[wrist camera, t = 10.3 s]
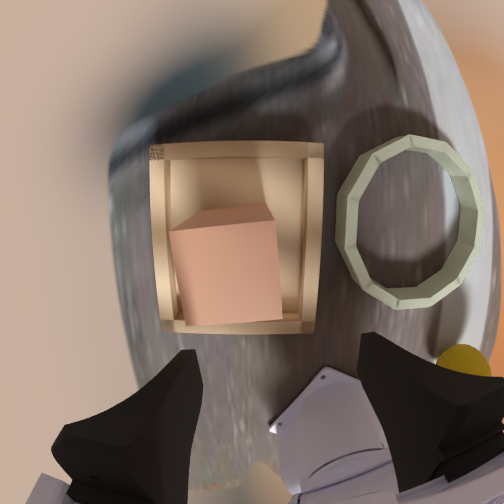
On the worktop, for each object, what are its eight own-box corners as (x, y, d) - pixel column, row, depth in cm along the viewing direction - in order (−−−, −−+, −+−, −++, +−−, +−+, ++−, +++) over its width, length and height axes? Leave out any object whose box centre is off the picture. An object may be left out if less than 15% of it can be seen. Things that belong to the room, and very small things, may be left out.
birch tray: (308, 317, 23) (313, 333, 20) (170, 316, 23) (162, 331, 20) (315, 146, 19) (323, 142, 17) (161, 148, 19) (149, 145, 17)
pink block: (271, 266, 21) (282, 319, 13) (209, 272, 21) (185, 326, 13) (266, 203, 20) (275, 220, 12) (201, 210, 20) (168, 231, 12)
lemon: (462, 322, 23) (508, 361, 15) (461, 360, 24) (499, 401, 17) (420, 346, 24) (461, 395, 16) (422, 383, 25) (455, 431, 17)
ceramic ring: (416, 318, 23) (429, 331, 20) (303, 249, 21) (309, 258, 19) (483, 200, 20) (500, 204, 18) (385, 107, 19) (400, 101, 16)
